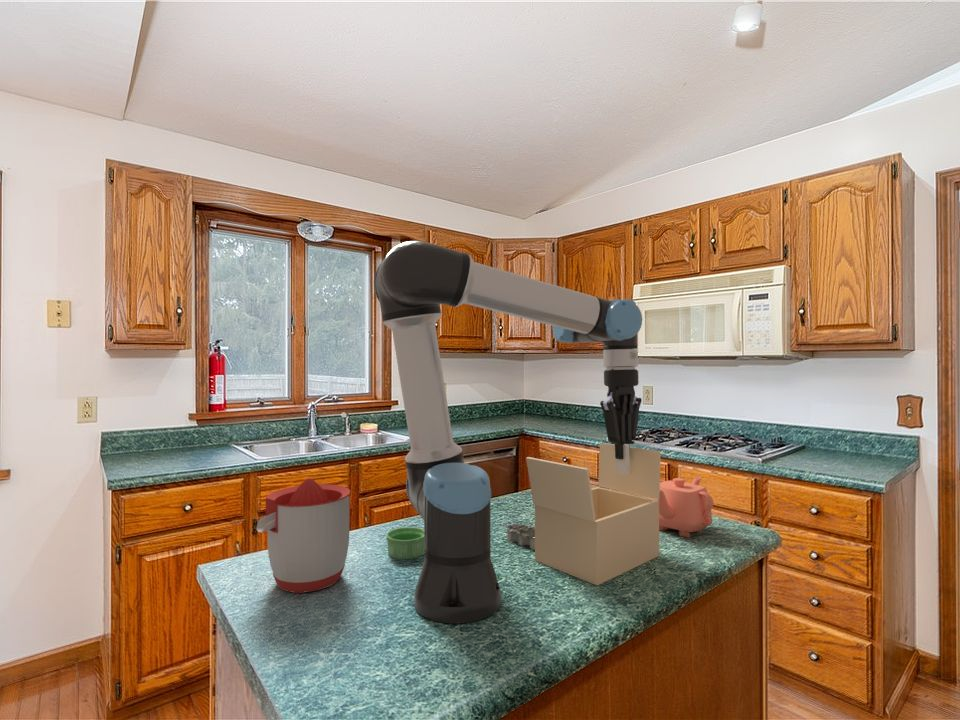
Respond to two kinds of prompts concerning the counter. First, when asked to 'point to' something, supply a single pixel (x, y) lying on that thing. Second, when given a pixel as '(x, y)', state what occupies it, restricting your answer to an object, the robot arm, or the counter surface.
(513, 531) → the egg carton
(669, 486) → the teapot
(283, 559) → the citrus juicer
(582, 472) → the near flap
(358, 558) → the counter surface
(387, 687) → the counter surface
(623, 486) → the far flap
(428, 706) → the counter surface
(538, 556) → the carton
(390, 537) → the ramekin
